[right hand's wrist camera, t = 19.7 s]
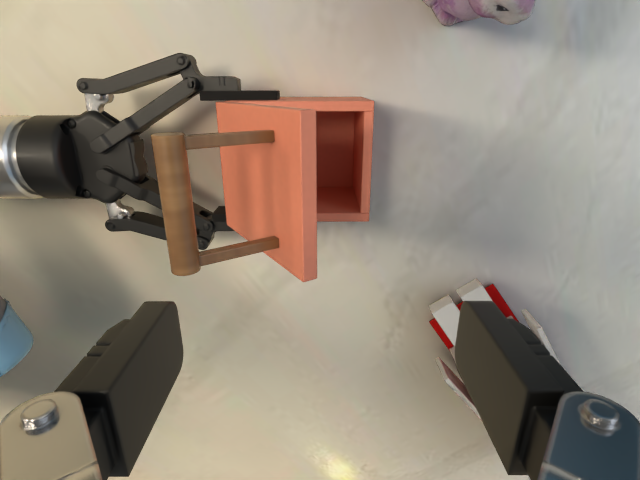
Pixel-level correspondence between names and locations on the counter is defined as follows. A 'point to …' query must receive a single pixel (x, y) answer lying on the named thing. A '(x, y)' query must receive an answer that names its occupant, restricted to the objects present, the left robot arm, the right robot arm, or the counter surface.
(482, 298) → the toy
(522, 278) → the counter surface
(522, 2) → the figurine
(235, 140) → the lid
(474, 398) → the right robot arm
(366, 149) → the chest
